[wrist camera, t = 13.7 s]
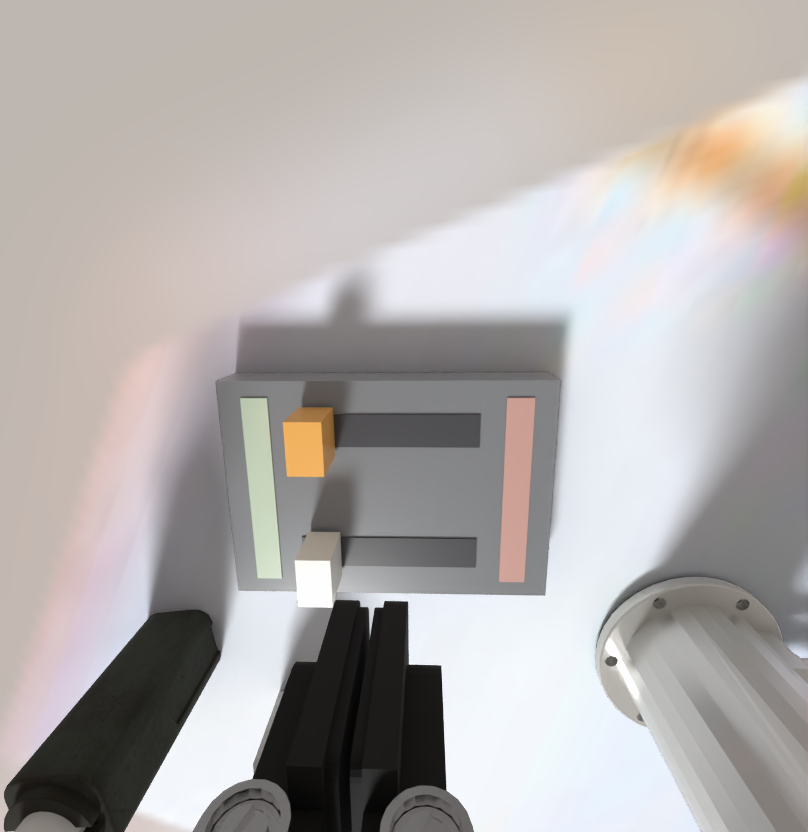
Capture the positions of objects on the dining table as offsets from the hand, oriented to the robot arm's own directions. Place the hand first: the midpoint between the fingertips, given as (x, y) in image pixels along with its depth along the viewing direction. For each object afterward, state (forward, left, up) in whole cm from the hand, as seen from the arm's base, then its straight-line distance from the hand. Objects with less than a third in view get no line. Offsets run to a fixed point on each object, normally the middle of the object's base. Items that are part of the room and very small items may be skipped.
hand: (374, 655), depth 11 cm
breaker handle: (+5, 0, -18) cm, 18 cm away
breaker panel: (+1, +4, -21) cm, 21 cm away
